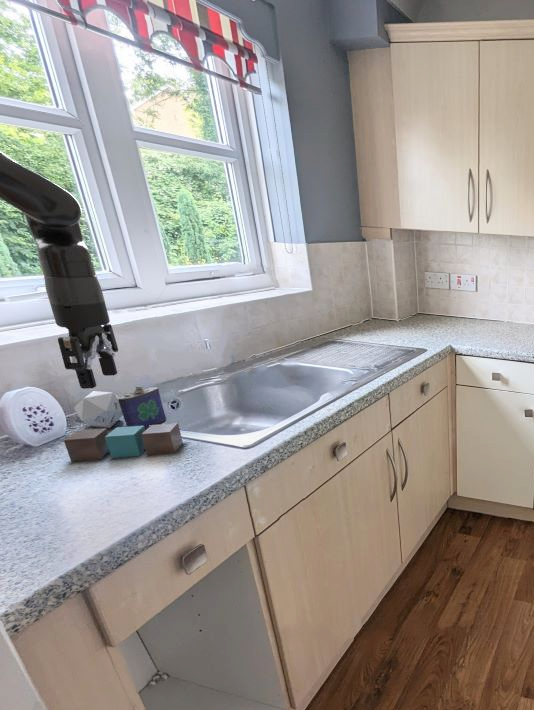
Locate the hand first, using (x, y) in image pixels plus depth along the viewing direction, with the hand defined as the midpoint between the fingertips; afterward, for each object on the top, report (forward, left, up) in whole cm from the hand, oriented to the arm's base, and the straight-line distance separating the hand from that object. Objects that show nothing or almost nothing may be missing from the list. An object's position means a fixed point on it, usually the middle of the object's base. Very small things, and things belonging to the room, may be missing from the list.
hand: (100, 381), depth 91 cm
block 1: (-6, +1, -17) cm, 18 cm away
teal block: (+1, +2, -17) cm, 17 cm away
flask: (-1, +16, -17) cm, 23 cm away
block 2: (+7, +2, -17) cm, 18 cm away
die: (-11, +19, -17) cm, 28 cm away
